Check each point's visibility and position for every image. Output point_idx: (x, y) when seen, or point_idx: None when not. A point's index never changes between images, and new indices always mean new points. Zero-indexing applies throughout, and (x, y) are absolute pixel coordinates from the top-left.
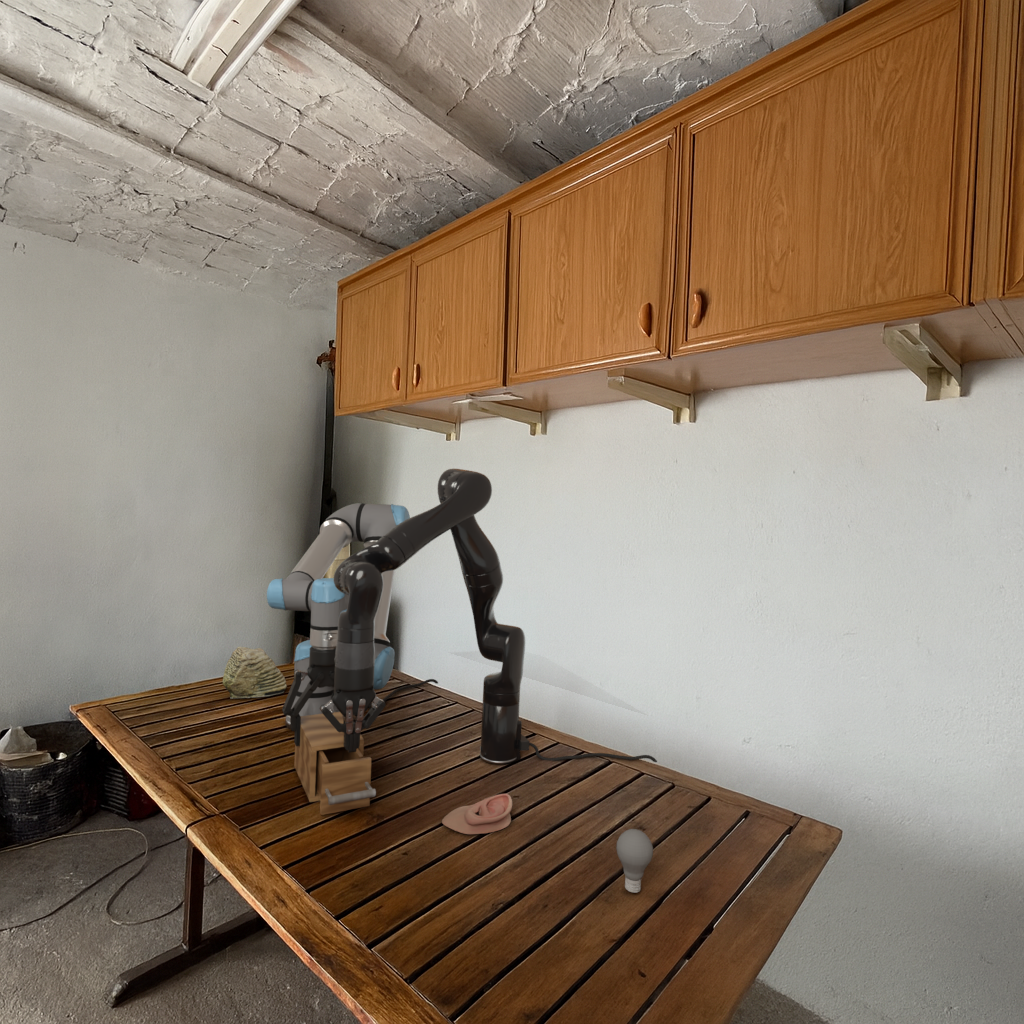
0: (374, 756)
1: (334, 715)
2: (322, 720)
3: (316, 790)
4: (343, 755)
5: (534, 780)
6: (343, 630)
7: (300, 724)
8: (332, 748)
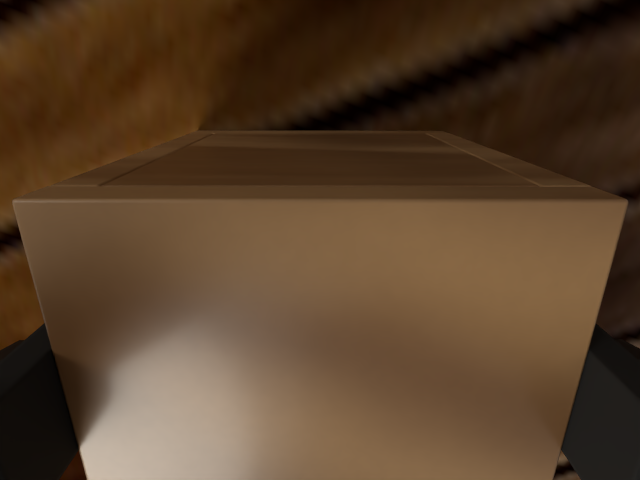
0: (612, 160)
1: (468, 314)
2: (302, 409)
3: None
4: None
5: None
6: None
7: (72, 458)
8: None
